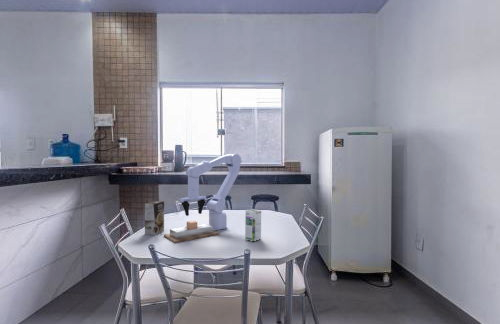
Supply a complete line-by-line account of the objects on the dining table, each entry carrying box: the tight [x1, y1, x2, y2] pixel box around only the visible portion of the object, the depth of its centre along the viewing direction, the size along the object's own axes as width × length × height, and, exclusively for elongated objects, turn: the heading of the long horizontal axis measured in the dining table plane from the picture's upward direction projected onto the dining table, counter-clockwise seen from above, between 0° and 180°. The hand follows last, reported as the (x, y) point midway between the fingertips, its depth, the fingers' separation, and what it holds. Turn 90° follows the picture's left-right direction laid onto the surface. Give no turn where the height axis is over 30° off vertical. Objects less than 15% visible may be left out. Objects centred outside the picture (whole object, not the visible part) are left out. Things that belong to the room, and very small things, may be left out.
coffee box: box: [144, 200, 165, 236], centre depth 147 cm, size 9×6×16 cm
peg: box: [186, 220, 198, 230], centre depth 142 cm, size 4×4×6 cm
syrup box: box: [244, 208, 262, 242], centre depth 135 cm, size 6×6×14 cm
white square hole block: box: [169, 223, 213, 239], centre depth 142 cm, size 20×8×3 cm, turn 128°
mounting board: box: [163, 230, 220, 244], centre depth 142 cm, size 24×14×1 cm, turn 128°
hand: (193, 214), depth 149 cm, fingers open, 7 cm apart
